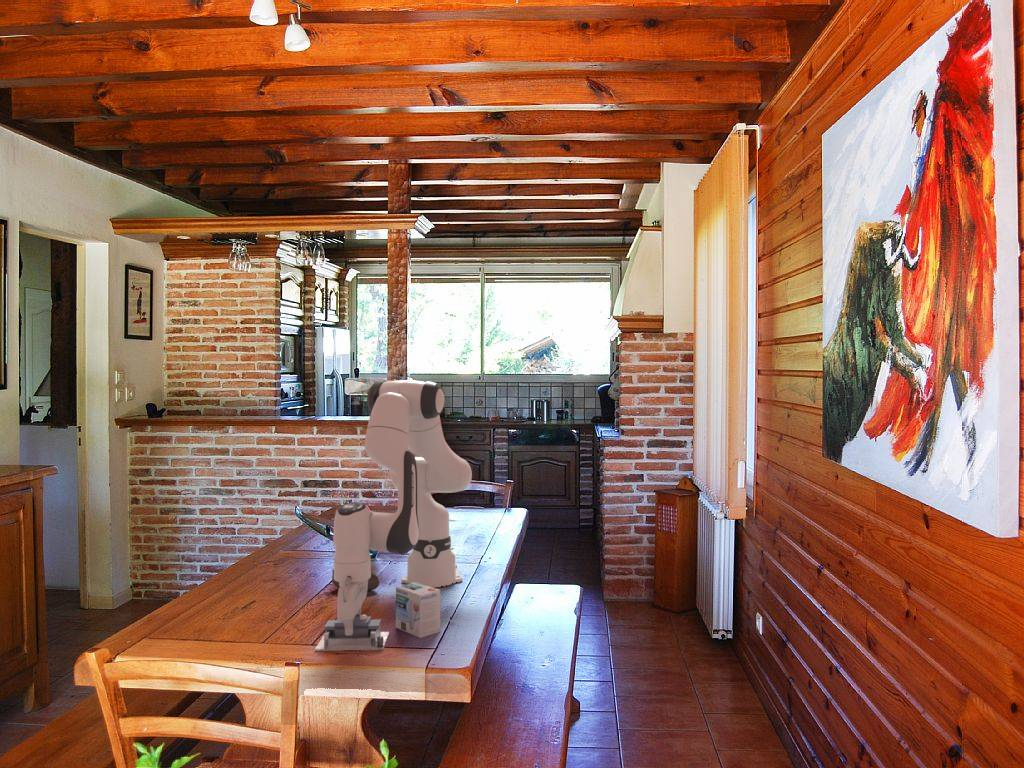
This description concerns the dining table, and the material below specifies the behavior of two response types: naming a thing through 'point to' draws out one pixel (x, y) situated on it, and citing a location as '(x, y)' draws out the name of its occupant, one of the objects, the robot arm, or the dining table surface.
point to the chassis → (353, 641)
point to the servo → (360, 626)
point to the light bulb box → (418, 609)
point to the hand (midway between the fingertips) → (353, 627)
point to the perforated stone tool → (372, 582)
